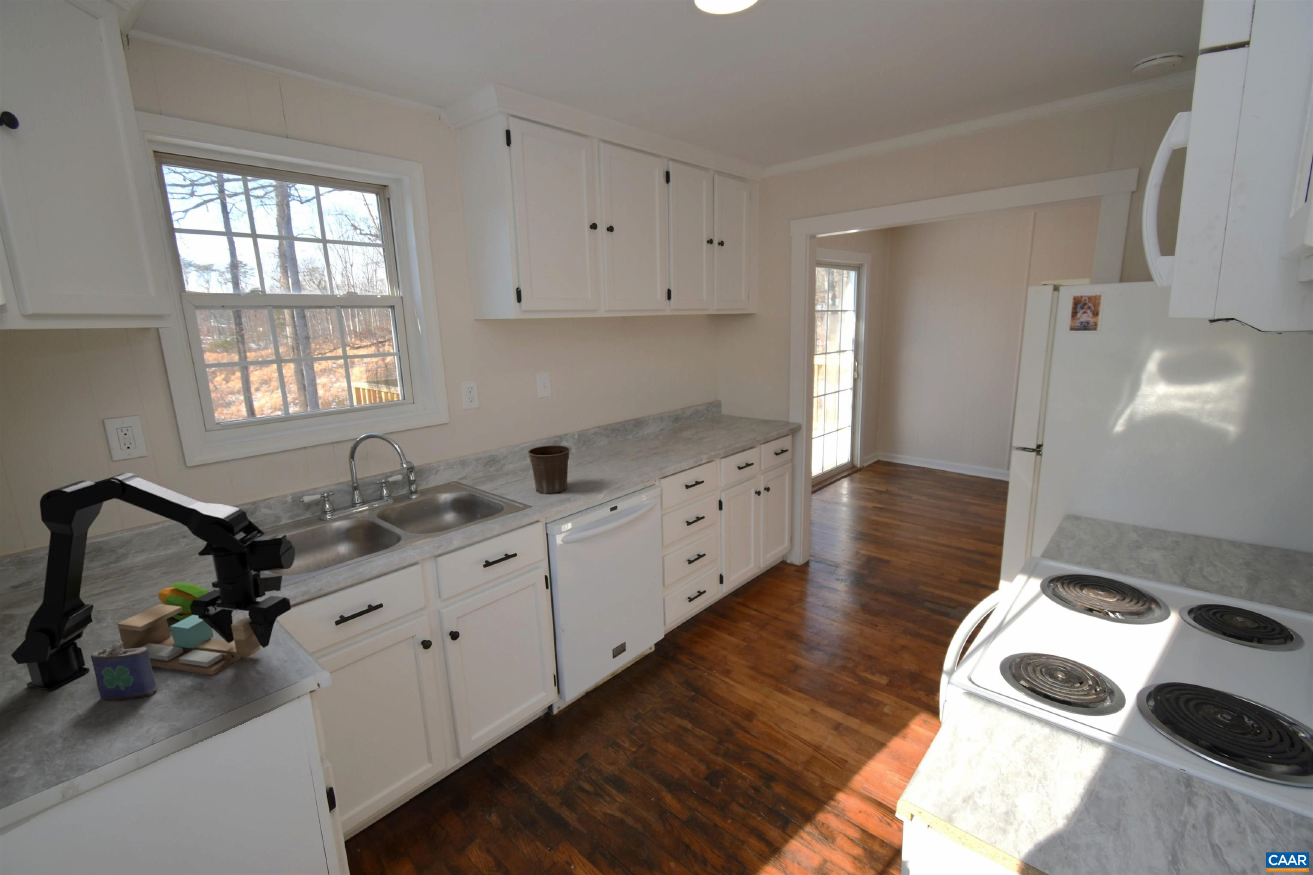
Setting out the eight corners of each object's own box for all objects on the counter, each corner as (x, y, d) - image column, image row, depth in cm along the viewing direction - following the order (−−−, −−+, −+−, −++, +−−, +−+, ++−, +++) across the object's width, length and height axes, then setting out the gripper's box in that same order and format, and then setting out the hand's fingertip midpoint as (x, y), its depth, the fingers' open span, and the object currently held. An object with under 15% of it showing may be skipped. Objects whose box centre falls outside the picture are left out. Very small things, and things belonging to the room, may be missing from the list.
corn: (187, 598, 126) (138, 583, 134) (191, 630, 127) (142, 613, 135) (224, 586, 133) (174, 572, 141) (227, 616, 134) (178, 601, 142)
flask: (161, 688, 107) (148, 636, 105) (149, 698, 104) (136, 646, 102) (108, 692, 107) (94, 640, 104) (94, 702, 104) (80, 649, 101)
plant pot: (568, 495, 217) (566, 454, 213) (526, 496, 217) (523, 455, 214) (575, 483, 233) (573, 444, 229) (536, 484, 233) (533, 445, 230)
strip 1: (207, 666, 112) (206, 662, 111) (133, 655, 116) (132, 651, 116) (222, 657, 114) (221, 653, 114) (149, 647, 119) (148, 643, 119)
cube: (192, 648, 116) (187, 628, 115) (174, 645, 117) (170, 626, 116) (213, 636, 120) (209, 616, 120) (196, 634, 121) (192, 614, 121)
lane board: (212, 675, 111) (204, 635, 109) (126, 661, 116) (117, 623, 114) (250, 651, 119) (242, 614, 117) (167, 640, 124) (159, 604, 122)
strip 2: (248, 658, 114) (242, 626, 113) (173, 647, 119) (166, 616, 117) (261, 649, 117) (256, 618, 115) (187, 639, 121) (181, 609, 120)
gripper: (307, 559, 118) (318, 627, 121) (234, 552, 122) (247, 619, 125) (259, 583, 107) (272, 658, 110) (181, 575, 111) (196, 647, 115)
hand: (248, 644), depth 115 cm, fingers open, 8 cm apart
